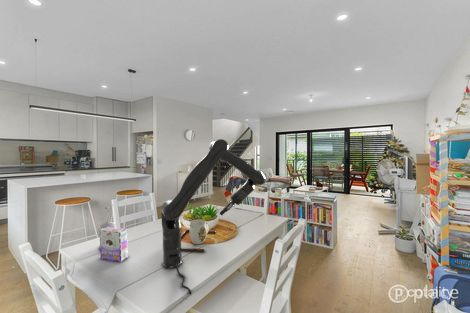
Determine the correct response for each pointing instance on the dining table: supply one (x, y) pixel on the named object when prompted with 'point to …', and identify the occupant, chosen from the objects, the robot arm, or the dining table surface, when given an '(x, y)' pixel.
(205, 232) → the pitcher
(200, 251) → the bay
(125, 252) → the candy box
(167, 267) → the robot arm
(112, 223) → the french press
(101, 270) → the dining table surface
